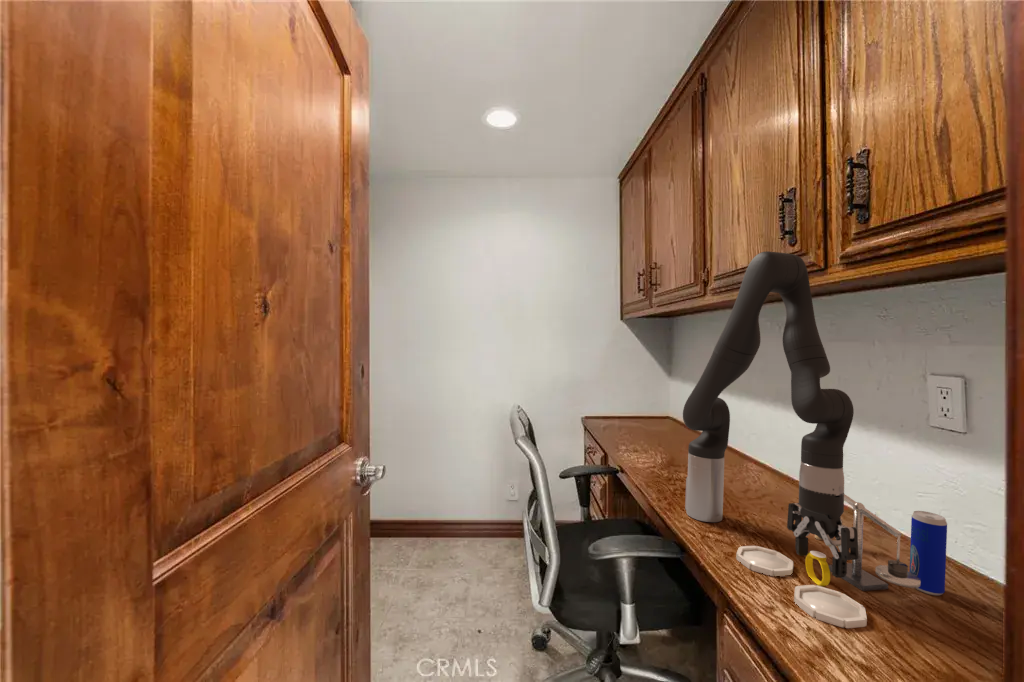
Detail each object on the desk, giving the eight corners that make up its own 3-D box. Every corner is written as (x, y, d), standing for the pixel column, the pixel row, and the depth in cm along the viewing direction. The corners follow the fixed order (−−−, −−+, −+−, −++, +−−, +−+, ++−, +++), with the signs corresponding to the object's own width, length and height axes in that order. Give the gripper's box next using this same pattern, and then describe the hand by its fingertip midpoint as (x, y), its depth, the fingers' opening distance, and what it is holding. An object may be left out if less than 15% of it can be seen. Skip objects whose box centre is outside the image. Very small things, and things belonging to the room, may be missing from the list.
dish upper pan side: (726, 552, 100) (727, 547, 100) (767, 549, 101) (767, 544, 101) (760, 577, 89) (760, 572, 89) (805, 574, 91) (805, 568, 91)
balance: (798, 552, 100) (801, 478, 100) (822, 551, 101) (825, 477, 101) (900, 614, 78) (903, 518, 78) (929, 611, 79) (932, 517, 79)
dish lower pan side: (780, 593, 84) (781, 587, 84) (827, 589, 86) (828, 583, 86) (829, 630, 73) (829, 623, 73) (881, 624, 75) (882, 618, 75)
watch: (833, 592, 85) (835, 563, 85) (818, 591, 86) (821, 562, 85) (814, 573, 91) (816, 546, 91) (800, 572, 91) (802, 545, 91)
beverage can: (908, 578, 90) (910, 508, 90) (942, 588, 87) (945, 515, 87) (910, 589, 86) (912, 515, 86) (946, 600, 83) (949, 523, 83)
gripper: (777, 475, 94) (776, 549, 94) (837, 499, 80) (835, 586, 80) (807, 475, 96) (806, 548, 95) (870, 498, 82) (869, 583, 81)
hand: (819, 565), depth 88 cm, fingers open, 8 cm apart
